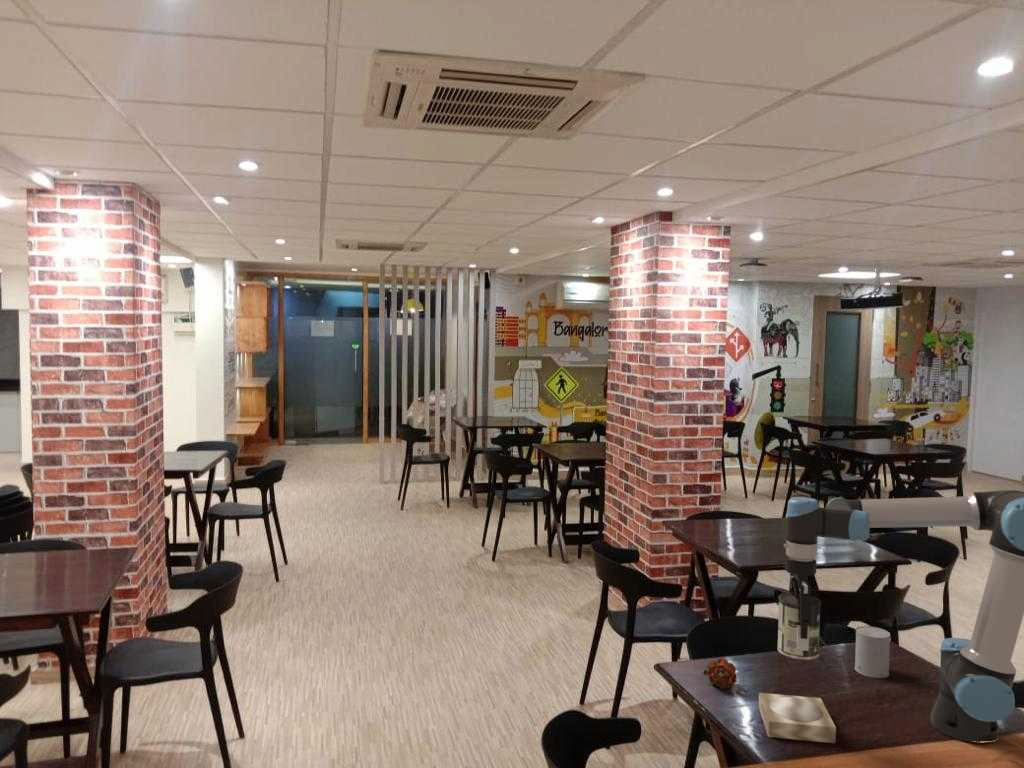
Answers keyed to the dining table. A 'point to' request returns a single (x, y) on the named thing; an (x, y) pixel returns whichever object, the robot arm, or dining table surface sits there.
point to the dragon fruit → (721, 673)
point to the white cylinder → (872, 651)
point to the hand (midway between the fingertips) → (798, 641)
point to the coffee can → (789, 628)
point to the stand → (796, 718)
